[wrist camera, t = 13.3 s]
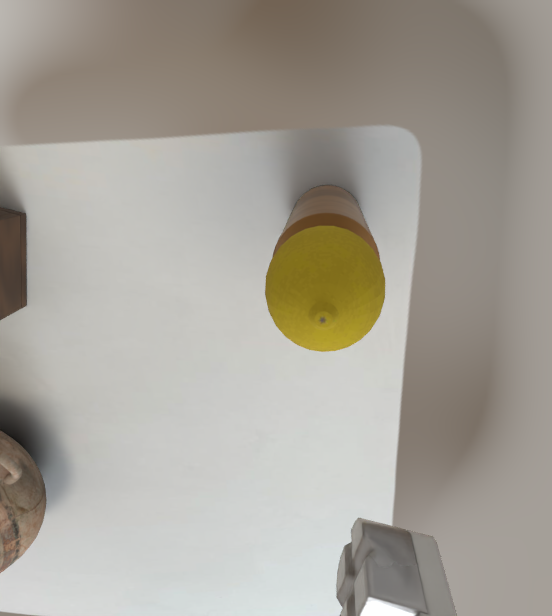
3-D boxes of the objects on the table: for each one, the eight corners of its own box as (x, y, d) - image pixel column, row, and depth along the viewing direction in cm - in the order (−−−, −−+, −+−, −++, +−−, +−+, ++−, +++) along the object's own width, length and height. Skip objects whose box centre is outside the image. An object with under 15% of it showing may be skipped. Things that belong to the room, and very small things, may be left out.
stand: (301, 177, 35) (285, 200, 23) (370, 195, 35) (395, 228, 22) (284, 245, 38) (261, 301, 25) (349, 262, 38) (361, 327, 25)
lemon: (289, 201, 23) (270, 232, 15) (390, 228, 22) (420, 273, 15) (265, 294, 25) (238, 361, 17) (357, 320, 25) (369, 398, 17)
